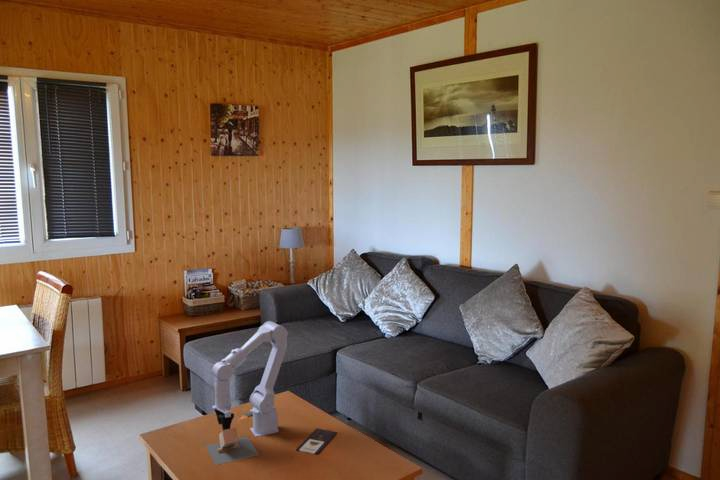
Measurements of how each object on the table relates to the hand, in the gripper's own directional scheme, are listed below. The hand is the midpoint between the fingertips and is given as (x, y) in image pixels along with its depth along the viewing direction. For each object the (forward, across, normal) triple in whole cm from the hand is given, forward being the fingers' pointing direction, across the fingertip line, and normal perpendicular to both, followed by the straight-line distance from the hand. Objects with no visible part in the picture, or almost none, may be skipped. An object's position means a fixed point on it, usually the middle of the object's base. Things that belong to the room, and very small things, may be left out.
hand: (224, 427), depth 218 cm
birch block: (+4, +3, 0) cm, 5 cm away
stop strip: (+6, +6, 0) cm, 9 cm away
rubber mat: (+6, +7, +1) cm, 10 cm away
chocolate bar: (+7, +15, +32) cm, 36 cm away
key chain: (+7, -19, +14) cm, 25 cm away
